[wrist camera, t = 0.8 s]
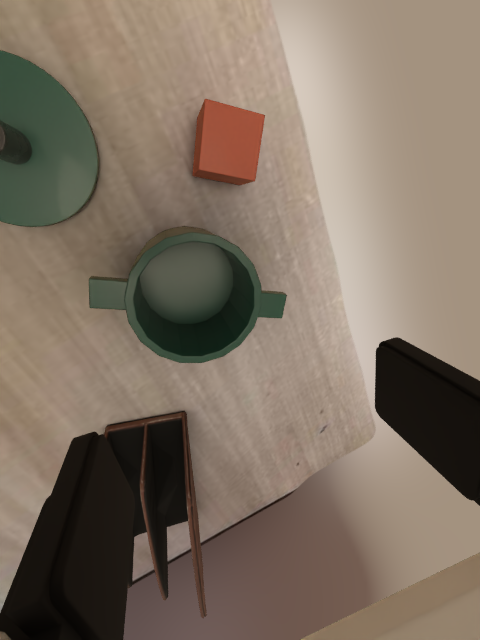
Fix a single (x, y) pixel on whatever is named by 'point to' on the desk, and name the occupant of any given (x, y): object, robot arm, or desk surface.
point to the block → (227, 143)
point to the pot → (189, 295)
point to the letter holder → (160, 488)
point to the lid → (42, 147)
